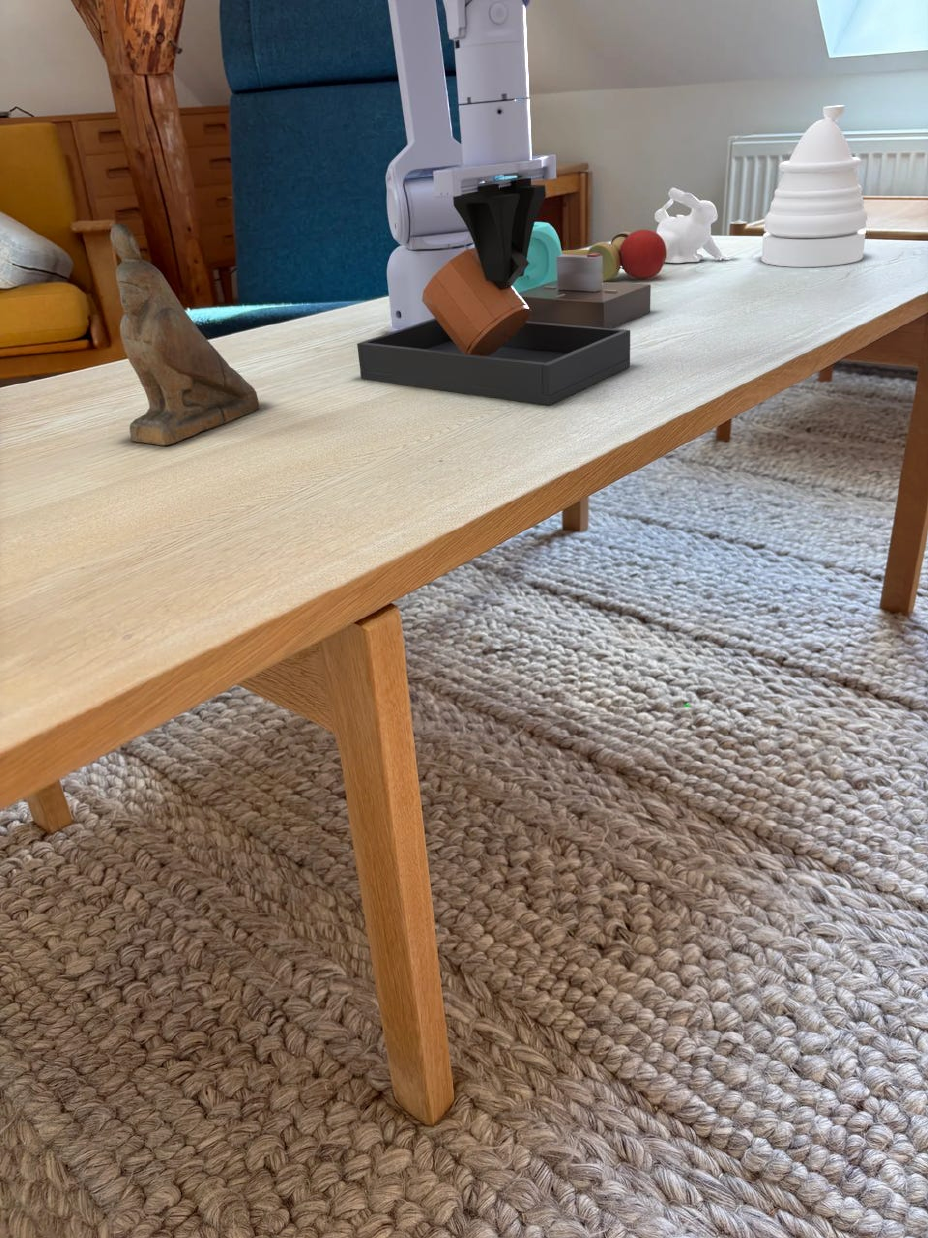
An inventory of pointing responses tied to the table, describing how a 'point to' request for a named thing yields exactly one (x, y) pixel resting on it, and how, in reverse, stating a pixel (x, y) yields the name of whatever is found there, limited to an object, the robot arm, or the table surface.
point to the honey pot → (817, 202)
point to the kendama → (630, 254)
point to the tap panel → (588, 304)
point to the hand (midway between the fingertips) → (504, 278)
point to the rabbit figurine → (688, 229)
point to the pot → (477, 303)
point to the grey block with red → (580, 272)
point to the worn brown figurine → (171, 356)
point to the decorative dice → (540, 258)
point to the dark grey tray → (499, 361)
